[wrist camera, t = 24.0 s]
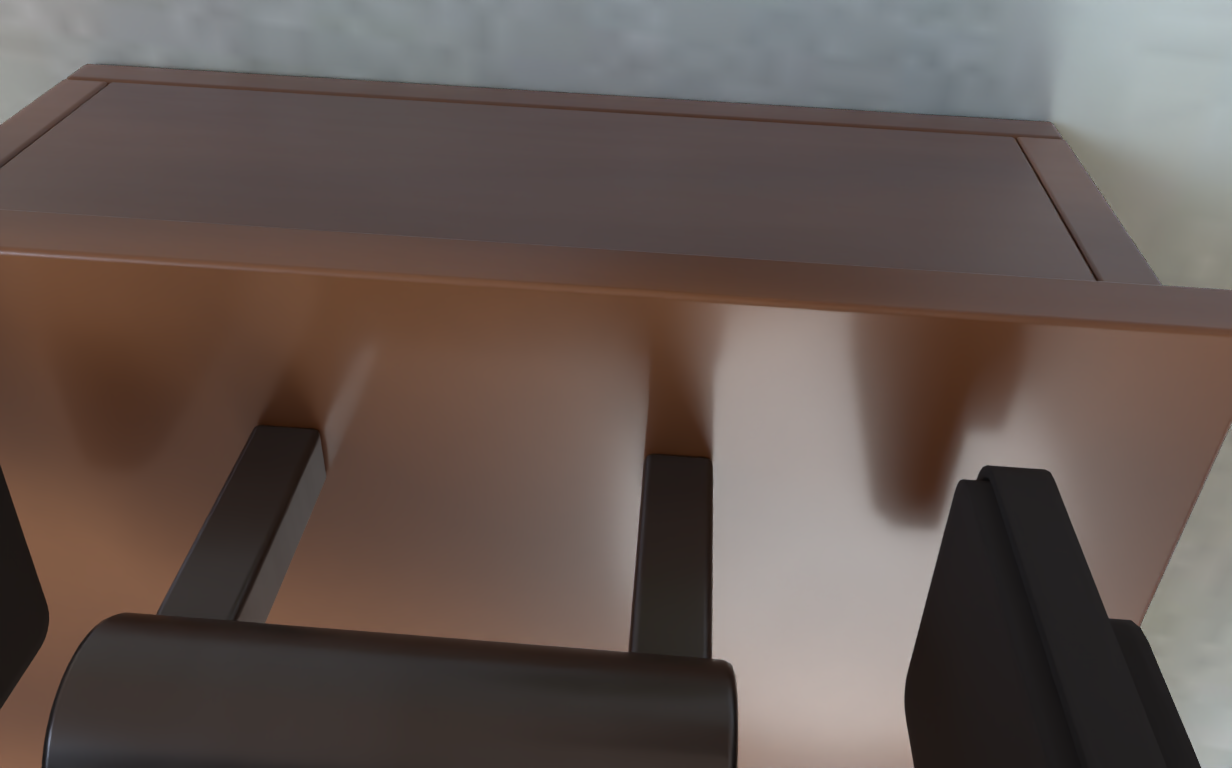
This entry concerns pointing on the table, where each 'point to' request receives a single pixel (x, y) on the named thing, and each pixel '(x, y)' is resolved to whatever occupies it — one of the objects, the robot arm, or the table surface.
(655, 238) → the brown wooden open box
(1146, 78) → the table surface
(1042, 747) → the robot arm
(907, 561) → the lid
